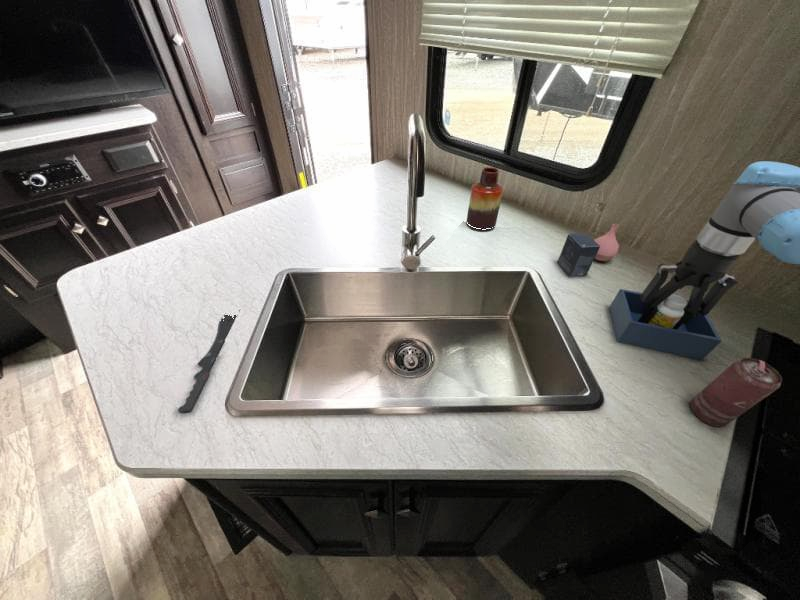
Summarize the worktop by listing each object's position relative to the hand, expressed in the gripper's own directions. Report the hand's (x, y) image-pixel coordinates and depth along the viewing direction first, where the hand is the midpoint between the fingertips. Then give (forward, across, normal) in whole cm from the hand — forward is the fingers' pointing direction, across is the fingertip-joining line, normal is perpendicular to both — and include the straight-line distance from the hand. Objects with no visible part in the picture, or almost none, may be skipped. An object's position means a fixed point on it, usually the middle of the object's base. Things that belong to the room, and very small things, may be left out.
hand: (655, 327), depth 78 cm
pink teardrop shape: (+2, +8, -31) cm, 32 cm away
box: (+2, +17, -22) cm, 28 cm away
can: (+2, -5, +21) cm, 22 cm away
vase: (+2, +48, -42) cm, 63 cm away
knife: (+2, +99, +39) cm, 106 cm away
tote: (+1, 0, 0) cm, 1 cm away
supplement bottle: (+1, 0, 0) cm, 1 cm away
